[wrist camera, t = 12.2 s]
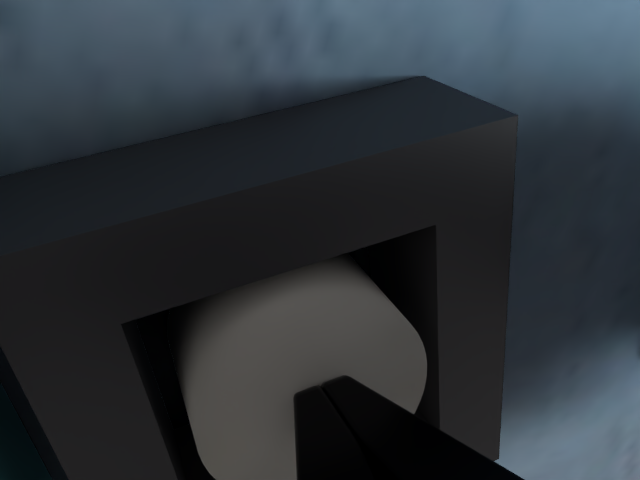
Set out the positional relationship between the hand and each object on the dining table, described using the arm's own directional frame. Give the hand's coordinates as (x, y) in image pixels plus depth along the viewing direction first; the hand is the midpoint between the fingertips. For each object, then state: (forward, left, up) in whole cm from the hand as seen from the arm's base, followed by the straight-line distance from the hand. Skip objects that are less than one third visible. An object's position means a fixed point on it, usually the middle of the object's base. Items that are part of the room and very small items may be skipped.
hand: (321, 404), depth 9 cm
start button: (0, 0, -2) cm, 2 cm away
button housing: (0, 0, -3) cm, 3 cm away
